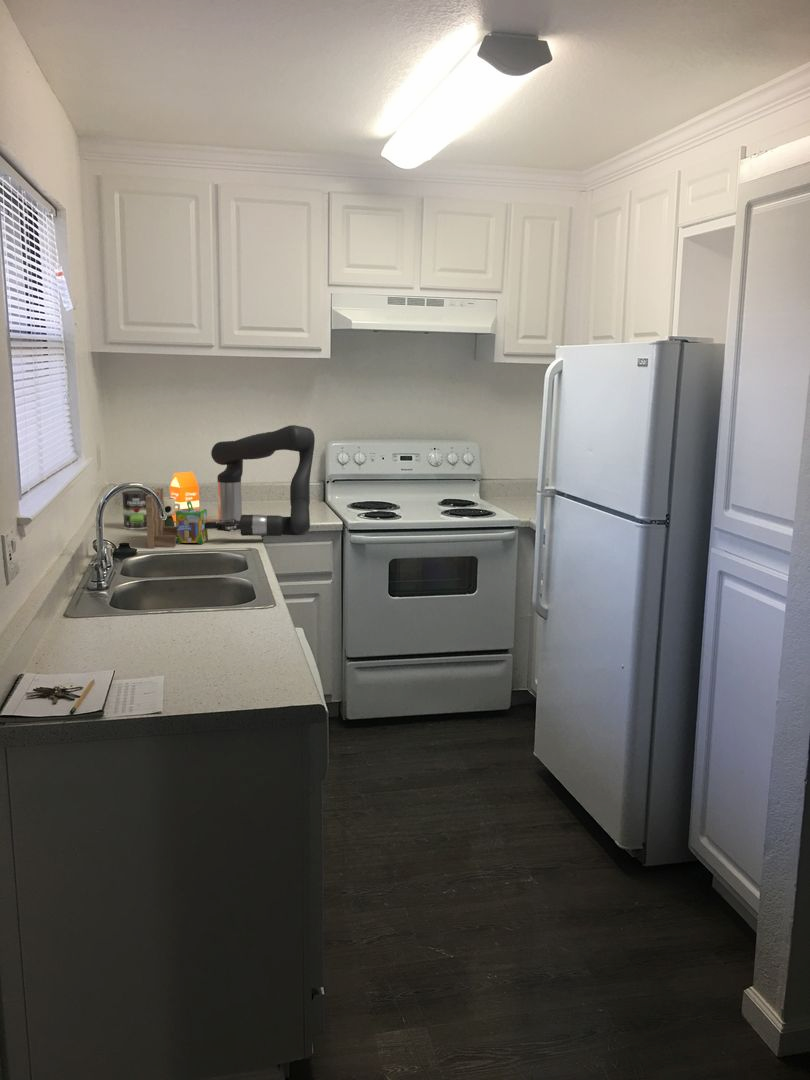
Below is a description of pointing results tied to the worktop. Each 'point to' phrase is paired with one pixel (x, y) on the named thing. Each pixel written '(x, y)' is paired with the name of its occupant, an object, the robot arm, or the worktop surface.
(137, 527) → the coffee can
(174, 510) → the character mug
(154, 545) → the display bay
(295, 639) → the worktop surface
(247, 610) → the worktop surface
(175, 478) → the orange juice
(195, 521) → the chalk box
